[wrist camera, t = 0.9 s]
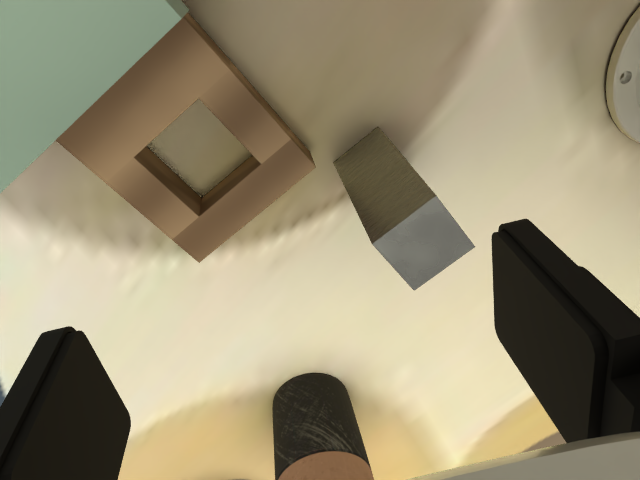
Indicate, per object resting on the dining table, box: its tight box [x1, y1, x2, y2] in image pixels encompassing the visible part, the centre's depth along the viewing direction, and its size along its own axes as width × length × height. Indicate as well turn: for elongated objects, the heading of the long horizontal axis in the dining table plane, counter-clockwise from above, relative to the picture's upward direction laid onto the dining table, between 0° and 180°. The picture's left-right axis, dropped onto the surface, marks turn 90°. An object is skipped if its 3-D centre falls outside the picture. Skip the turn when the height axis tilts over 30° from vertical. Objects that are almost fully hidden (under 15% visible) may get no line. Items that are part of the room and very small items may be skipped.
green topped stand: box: [0, 0, 189, 193], centre depth 23 cm, size 6×14×17 cm, turn 129°
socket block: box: [56, 12, 316, 262], centre depth 32 cm, size 14×10×3 cm
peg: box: [334, 127, 475, 290], centre depth 32 cm, size 4×4×12 cm
